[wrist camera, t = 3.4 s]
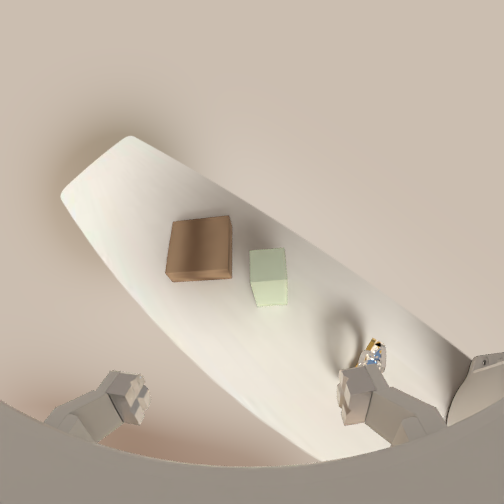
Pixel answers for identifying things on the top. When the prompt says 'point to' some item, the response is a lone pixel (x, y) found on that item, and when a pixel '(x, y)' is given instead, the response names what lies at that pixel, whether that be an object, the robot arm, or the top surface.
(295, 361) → the top surface
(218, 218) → the plinth
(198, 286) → the top surface
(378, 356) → the ring
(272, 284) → the block
